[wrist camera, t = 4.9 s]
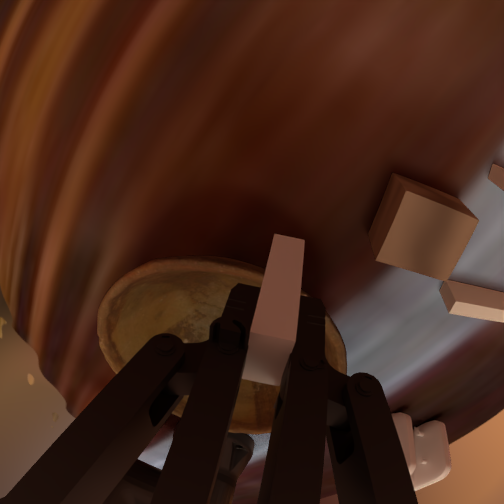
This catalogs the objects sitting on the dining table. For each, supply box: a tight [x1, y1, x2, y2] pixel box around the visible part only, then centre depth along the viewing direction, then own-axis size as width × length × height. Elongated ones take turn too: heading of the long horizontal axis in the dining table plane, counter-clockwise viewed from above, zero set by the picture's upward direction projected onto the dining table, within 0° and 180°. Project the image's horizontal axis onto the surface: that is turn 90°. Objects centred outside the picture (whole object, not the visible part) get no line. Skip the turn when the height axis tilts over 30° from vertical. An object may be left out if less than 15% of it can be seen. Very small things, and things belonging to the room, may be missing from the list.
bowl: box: [97, 256, 347, 434], centre depth 29 cm, size 22×23×10 cm
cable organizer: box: [391, 412, 451, 491], centre depth 38 cm, size 15×11×12 cm
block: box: [368, 172, 479, 281], centre depth 24 cm, size 7×6×4 cm
